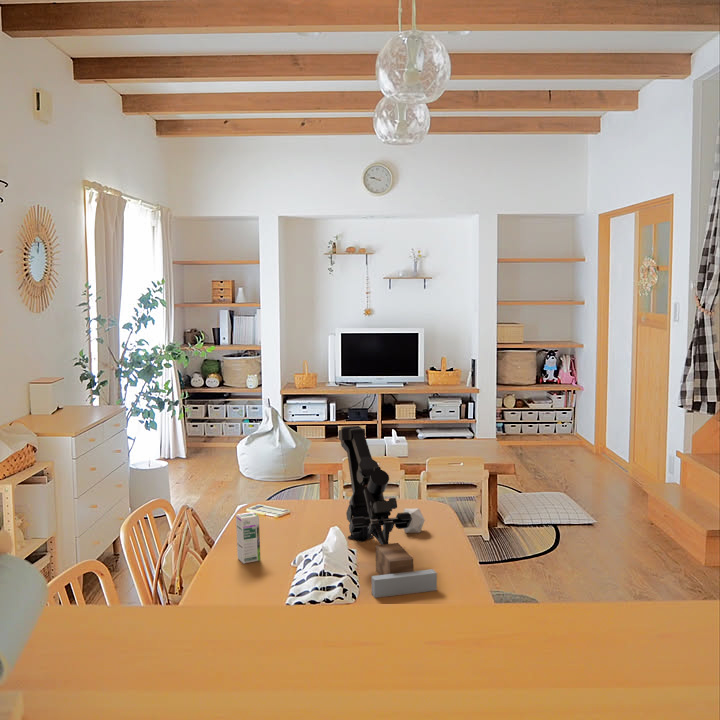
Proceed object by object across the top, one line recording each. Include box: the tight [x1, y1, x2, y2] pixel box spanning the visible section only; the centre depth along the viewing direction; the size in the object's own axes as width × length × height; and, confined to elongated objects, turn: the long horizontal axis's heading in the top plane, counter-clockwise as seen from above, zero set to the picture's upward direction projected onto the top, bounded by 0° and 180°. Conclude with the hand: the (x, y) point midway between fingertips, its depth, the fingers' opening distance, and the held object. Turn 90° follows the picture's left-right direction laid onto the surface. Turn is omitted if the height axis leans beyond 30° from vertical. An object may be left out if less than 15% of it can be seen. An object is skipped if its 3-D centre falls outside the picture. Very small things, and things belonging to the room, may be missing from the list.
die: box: [402, 507, 426, 534], centre depth 264 cm, size 8×9×10 cm
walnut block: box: [375, 542, 414, 575], centre depth 222 cm, size 14×7×8 cm, turn 15°
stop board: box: [371, 568, 438, 599], centre depth 213 cm, size 3×18×5 cm, turn 105°
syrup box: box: [235, 511, 261, 564], centre depth 239 cm, size 6×6×14 cm
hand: (386, 548), depth 229 cm, fingers closed
